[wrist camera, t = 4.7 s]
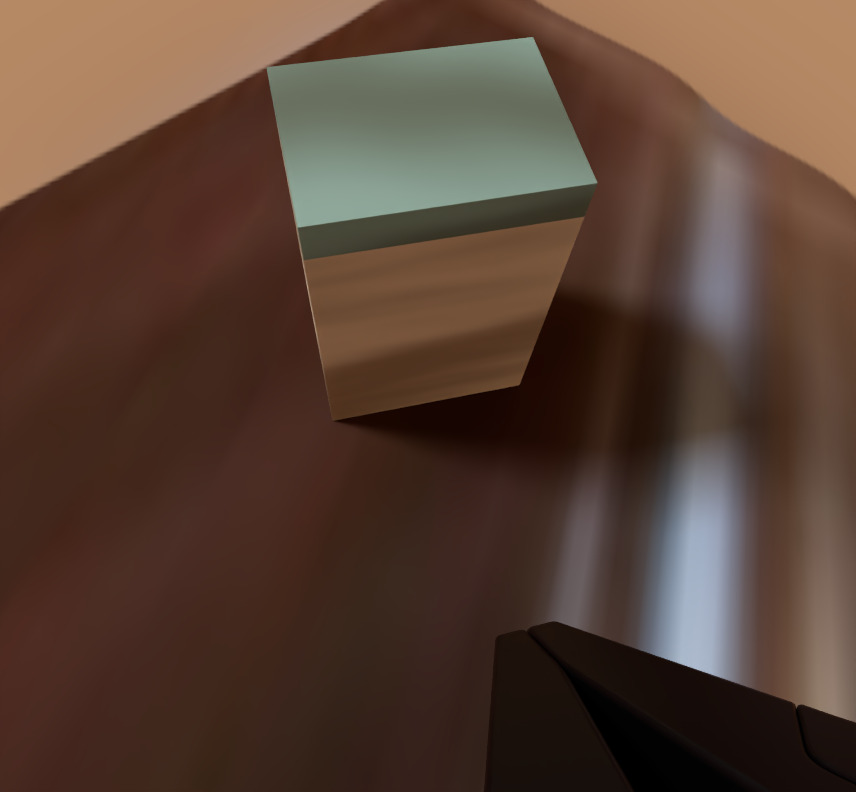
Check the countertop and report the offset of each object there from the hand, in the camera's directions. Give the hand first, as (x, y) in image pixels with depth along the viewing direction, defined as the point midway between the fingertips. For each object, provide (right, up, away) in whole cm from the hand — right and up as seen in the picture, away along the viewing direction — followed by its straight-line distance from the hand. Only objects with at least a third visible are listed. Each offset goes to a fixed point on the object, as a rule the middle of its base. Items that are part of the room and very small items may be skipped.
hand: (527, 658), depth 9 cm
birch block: (-2, +5, +13) cm, 14 cm away
